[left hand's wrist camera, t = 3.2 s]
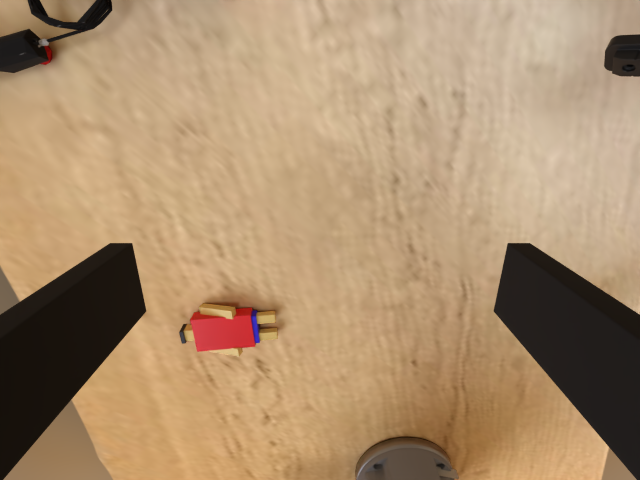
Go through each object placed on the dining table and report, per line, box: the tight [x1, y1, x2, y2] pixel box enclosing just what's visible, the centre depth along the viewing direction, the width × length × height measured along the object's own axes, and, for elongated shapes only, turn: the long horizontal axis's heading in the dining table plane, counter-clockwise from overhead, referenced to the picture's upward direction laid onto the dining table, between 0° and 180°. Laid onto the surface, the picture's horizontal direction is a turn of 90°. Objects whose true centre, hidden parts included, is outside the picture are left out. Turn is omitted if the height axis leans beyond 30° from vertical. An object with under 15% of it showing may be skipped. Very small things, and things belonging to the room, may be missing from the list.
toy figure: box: [179, 303, 278, 356], centre depth 45 cm, size 2×7×12 cm
